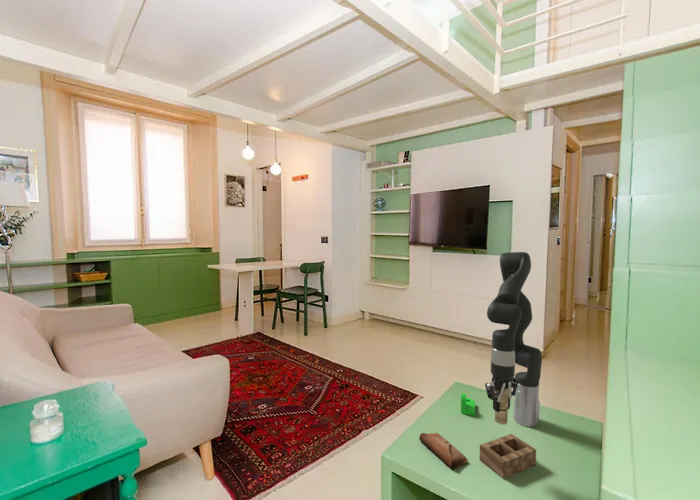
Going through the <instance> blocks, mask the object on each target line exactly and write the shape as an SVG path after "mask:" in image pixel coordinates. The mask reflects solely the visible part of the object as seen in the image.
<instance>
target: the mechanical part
mask: <svg viewBox="0 0 700 500" xmlns="http://www.w3.org/2000/svg"><path fill="white" fill-rule="evenodd" d="M460 414H464V415H469V416H474V417H476V400H474V399H473V398H469V397H467V393H462V392H461V395H460Z"/></svg>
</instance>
